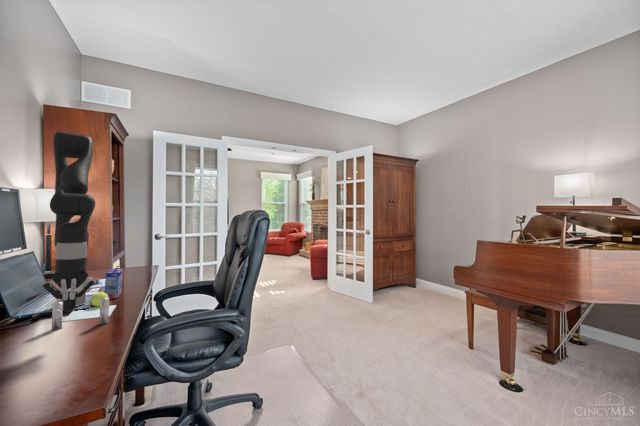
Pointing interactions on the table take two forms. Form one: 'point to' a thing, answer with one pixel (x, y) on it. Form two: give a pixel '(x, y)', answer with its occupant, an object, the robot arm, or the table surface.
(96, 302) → the ball
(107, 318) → the post
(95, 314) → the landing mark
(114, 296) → the ink cartridge box
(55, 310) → the post
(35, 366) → the table surface
